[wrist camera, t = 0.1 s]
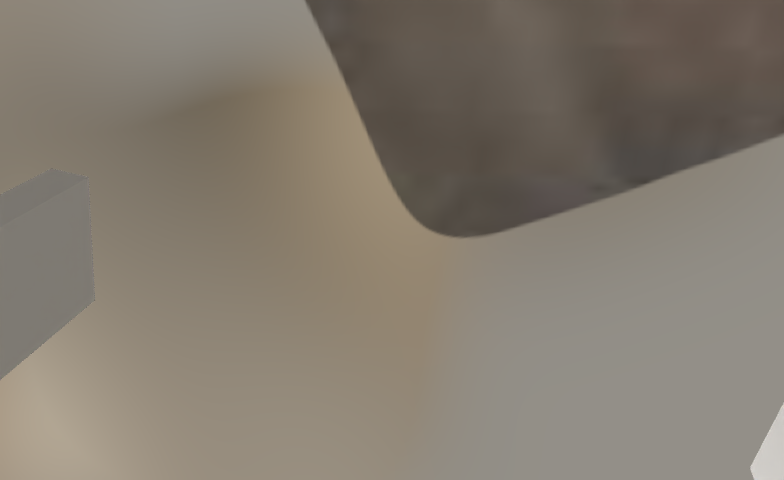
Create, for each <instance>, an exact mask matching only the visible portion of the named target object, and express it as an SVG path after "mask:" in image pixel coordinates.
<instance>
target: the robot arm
mask: <svg viewBox="0 0 784 480" xmlns="http://www.w3.org/2000/svg"><path fill="white" fill-rule="evenodd" d="M93 301H95V293H94V273H93V254H92V235H91V217H90V197H89V179H88V177H86V176H82V175H78V174H73V173H69V172H65V171H61V170H56V169H50V170H47V171H45V172H44V173H42V174H40V175H38V176H36V177H34V178H32V179H30V180H28V181H26V182H24V183H22V184H20V185H18V186H16V187H14V188H13V189H10V190H8V191H6V192H4V193H3V194H0V380H1V379H2V378H3V377H4V376H6V375H7V374H8V373H9V372H10V371H11V370H13V369H14V368H15V367H16V366H17V365H19V364H20V363H21V362H22V361H23V360H24V359H26V358H27V357H28V356H29V355H30V354H32V353H33V352H34V351H35V350H36V349H38V348H39V347H40V346H41V345H42V344H44V343H45V342H46V341H47V340H48V339H49V338H51V337H52V336H53V335H54V334H55V333H56V332H58V331H59V330H60V329H61V328H62V327H64V326H65V325H66V324H67V323H68V322H69V321H71V320H72V319H73V318H74V317H76V316H77V315H78V314H79V313H80V312H82V311H83V310H84V309H85V308H86V307H87V306H89V305H90V304H91V303H92V302H93ZM750 468H751V472H752V474H753V477H754V480H784V403H783V405H782V407H781V409H780V411H779V413H778V415H777V417H776V419H775V421H774V423H773V425H772V427H771V428H770V431H769V432H768V434H767V436H766V438H765V440H764V442H763V444H762V446H761V448H760V450H759V452H758V454H757V456H756V458H755V459H754V461H753V463H752V465H751V467H750Z"/></svg>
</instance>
